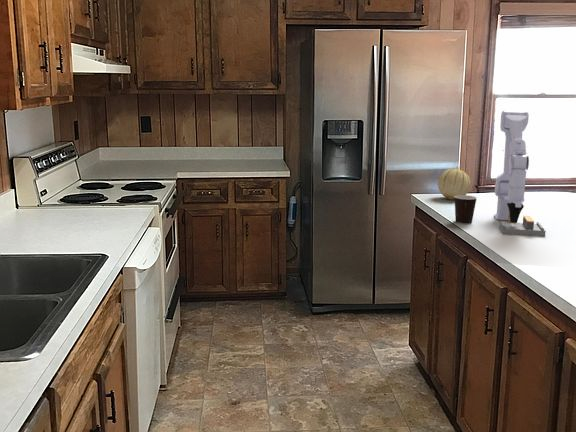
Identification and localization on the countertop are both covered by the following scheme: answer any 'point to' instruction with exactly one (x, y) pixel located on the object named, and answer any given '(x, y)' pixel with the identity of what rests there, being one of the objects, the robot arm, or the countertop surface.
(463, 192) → the cantaloupe
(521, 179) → the robot arm
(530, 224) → the breaker toggle
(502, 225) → the box
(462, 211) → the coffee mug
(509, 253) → the countertop surface
